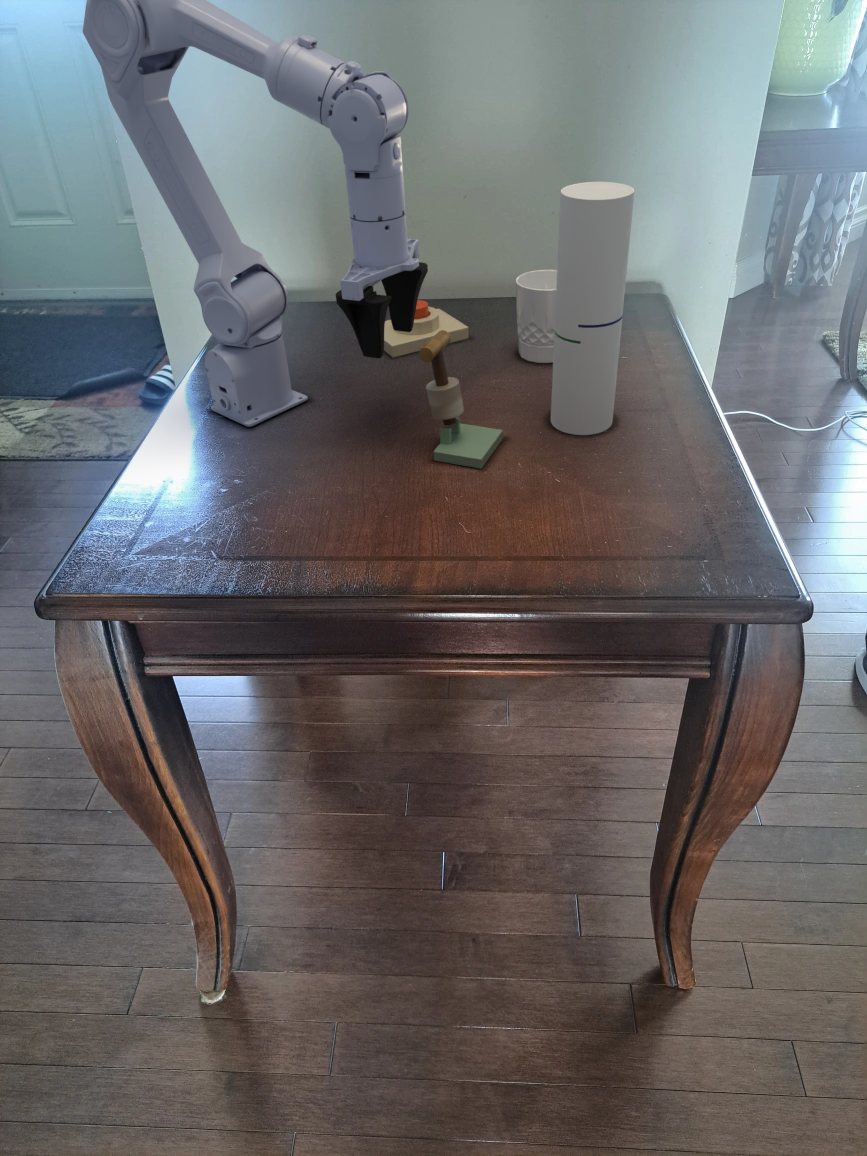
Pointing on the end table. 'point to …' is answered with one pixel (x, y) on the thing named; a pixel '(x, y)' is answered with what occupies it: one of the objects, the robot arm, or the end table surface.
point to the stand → (467, 444)
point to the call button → (421, 310)
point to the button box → (422, 333)
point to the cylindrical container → (589, 304)
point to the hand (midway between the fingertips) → (388, 343)
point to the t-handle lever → (441, 382)
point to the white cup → (536, 314)
